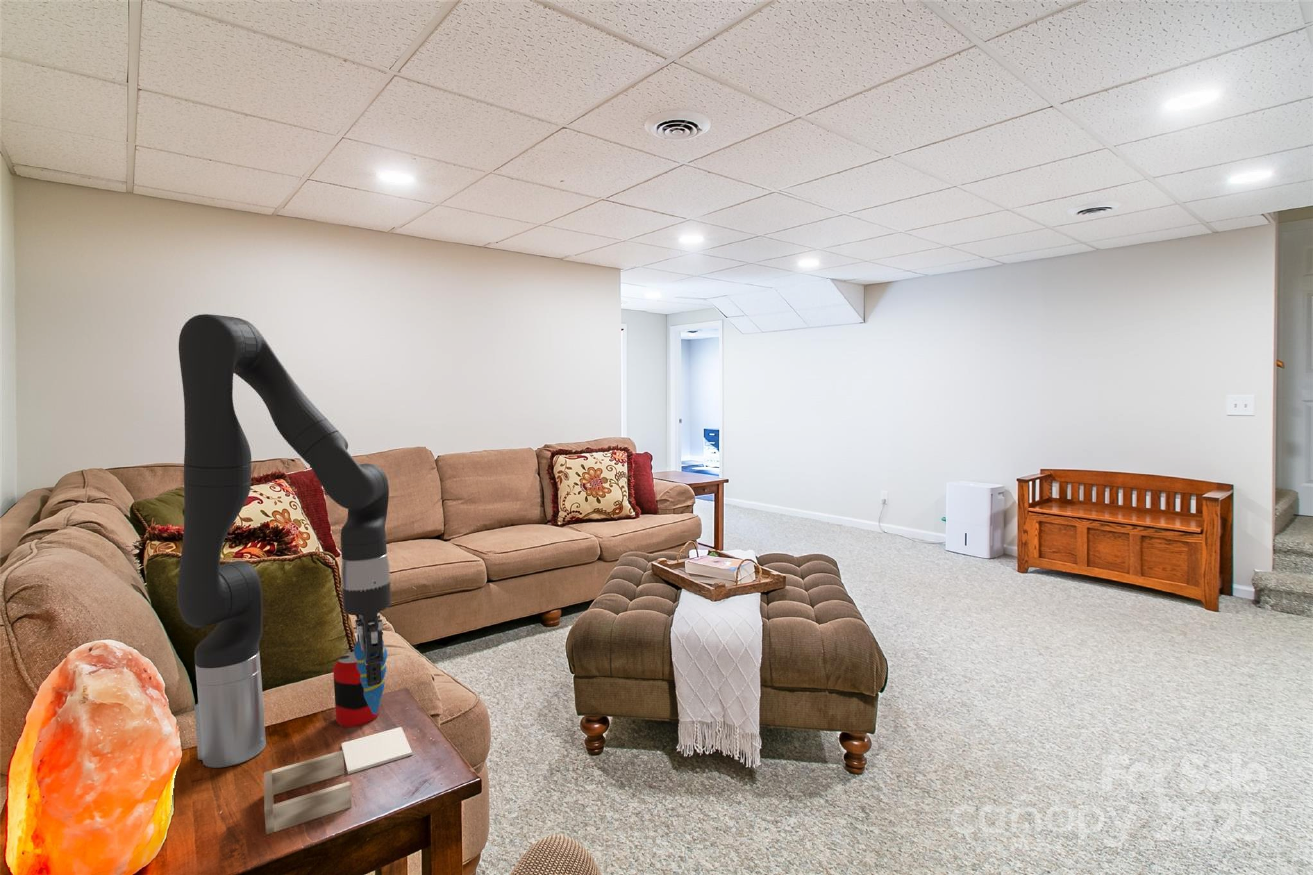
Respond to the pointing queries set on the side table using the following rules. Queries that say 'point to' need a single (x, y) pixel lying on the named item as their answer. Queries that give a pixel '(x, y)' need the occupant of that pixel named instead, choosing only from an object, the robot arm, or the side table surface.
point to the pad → (375, 750)
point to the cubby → (310, 803)
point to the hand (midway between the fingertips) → (371, 677)
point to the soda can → (350, 694)
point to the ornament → (370, 692)
